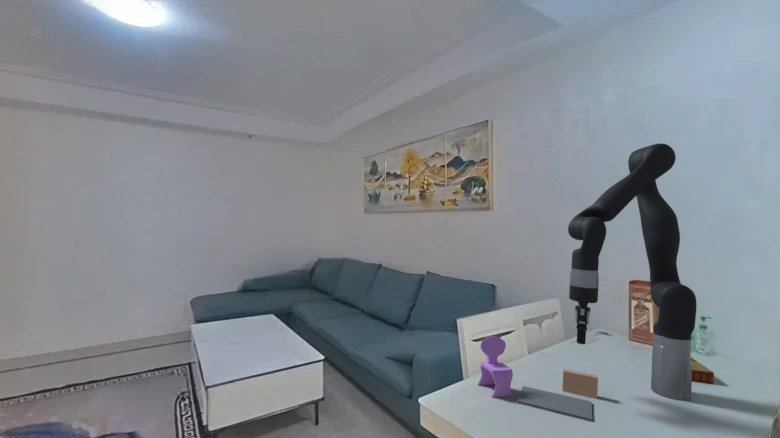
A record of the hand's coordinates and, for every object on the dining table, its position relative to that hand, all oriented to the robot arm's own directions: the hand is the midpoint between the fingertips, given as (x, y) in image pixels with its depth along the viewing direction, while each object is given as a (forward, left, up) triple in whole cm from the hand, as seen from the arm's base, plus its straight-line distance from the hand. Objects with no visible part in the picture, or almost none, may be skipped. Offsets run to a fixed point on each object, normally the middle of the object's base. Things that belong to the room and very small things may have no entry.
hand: (581, 339), depth 111 cm
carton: (-33, -40, -16) cm, 54 cm away
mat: (+6, +11, -16) cm, 20 cm away
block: (0, 0, -16) cm, 16 cm away
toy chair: (+22, +12, -16) cm, 30 cm away
